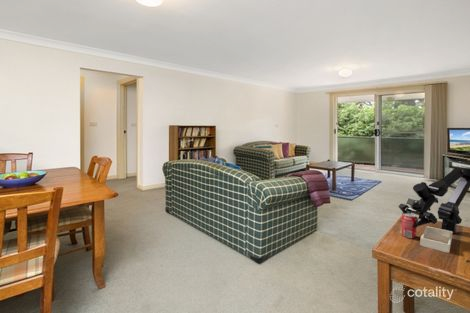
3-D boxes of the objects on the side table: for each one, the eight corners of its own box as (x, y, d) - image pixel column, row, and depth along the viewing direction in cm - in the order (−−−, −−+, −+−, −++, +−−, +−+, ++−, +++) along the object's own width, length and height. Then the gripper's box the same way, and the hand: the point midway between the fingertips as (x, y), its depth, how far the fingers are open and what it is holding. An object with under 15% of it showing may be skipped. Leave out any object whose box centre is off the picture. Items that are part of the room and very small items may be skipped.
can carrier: (425, 232, 141) (426, 226, 141) (451, 238, 134) (452, 231, 133) (419, 245, 126) (420, 237, 125) (449, 253, 118) (449, 244, 118)
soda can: (411, 234, 140) (412, 212, 138) (419, 239, 133) (421, 217, 131) (397, 233, 140) (399, 212, 139) (404, 238, 133) (406, 216, 132)
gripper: (402, 189, 144) (384, 209, 143) (434, 198, 126) (415, 221, 125) (412, 202, 147) (395, 222, 145) (445, 212, 129) (426, 235, 127)
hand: (406, 224), depth 135 cm, fingers closed on soda can, 7 cm apart
